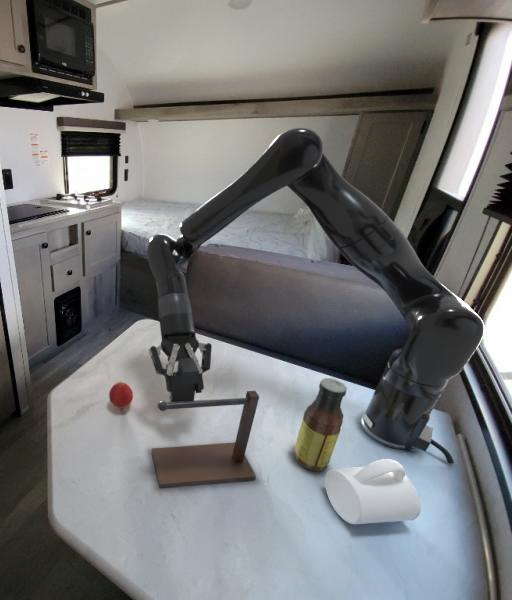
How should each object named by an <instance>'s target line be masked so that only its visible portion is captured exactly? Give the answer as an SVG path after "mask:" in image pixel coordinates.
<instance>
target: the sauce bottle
mask: <svg viewBox="0 0 512 600" xmlns="http://www.w3.org/2000/svg"><path fill="white" fill-rule="evenodd" d="M318 388H319V390H318V393H317V395H316V397H315V399H314V400H313V402H311V403H310V404H309V405H308V406H307V407H306V409H305V411H304V414H303V416H302V420H301V423H300V427H299V429H298V434H297V438H296V441H295V444H294V453H293V454H294V457H295V459H296V461H297V462H298V463H299V464H300V465H301V466H302V467H304V468H306V469H308V470H310V471H312V472H313V471H314V472H321V471H324V470H326V469H327V467H328V464H329V463H330V461H331V458H332V456H333V453H334V450H335V448H336V444H337V441H338V439H339V436H340V433H341V430H342V429H341V427H342V425H343V421H344V413H343V411H342V407H341V405H342V402H343V397H345V396H346V394H347V389H348V388H347V386H346V385H345V384H344V383H343V382H341V381H340V380H337V379H335V378H331V377H326V378H322V379H321V380H320V382H319V385H318Z"/></svg>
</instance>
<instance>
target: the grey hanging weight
mask: <svg viewBox="0 0 512 600" xmlns="http://www.w3.org/2000/svg"><path fill="white" fill-rule="evenodd" d="M176 370H177V371H173V372H172V376H173V379H174V385H175V394H174V395H169V397H168V399H169V402H180V401H195V396H196V391H195V388H196V384H198V377H199V370H198V368H197V366H196V364H195V362H194V360H193V358H180V359H178V362H177V369H176Z"/></svg>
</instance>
